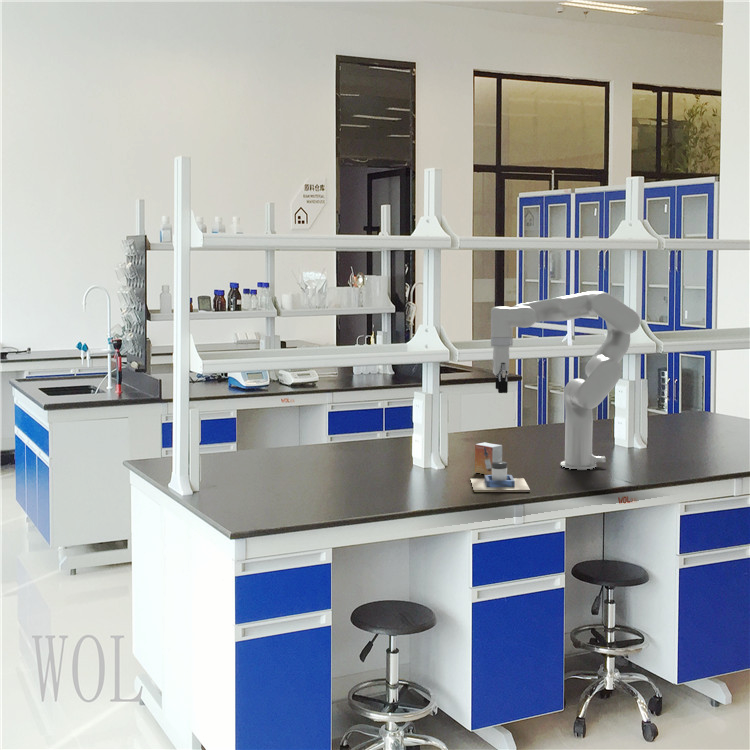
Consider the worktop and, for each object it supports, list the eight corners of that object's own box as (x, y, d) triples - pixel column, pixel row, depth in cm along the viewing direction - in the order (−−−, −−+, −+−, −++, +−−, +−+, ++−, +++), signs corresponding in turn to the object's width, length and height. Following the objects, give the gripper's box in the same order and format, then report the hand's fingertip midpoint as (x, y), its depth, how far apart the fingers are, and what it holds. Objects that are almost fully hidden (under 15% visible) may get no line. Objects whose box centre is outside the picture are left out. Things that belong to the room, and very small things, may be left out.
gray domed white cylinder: (506, 482, 326) (506, 461, 325) (507, 485, 321) (507, 464, 320) (491, 482, 326) (491, 461, 326) (492, 485, 322) (492, 464, 321)
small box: (474, 473, 344) (474, 444, 342) (484, 471, 348) (484, 441, 346) (492, 477, 338) (492, 447, 337) (502, 474, 342) (502, 444, 341)
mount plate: (523, 481, 332) (524, 472, 331) (529, 492, 316) (530, 483, 315) (470, 481, 332) (470, 472, 332) (473, 492, 316) (473, 483, 316)
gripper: (488, 340, 352) (488, 387, 354) (493, 344, 335) (492, 394, 337) (509, 339, 352) (509, 387, 354) (515, 344, 334) (515, 394, 337)
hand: (501, 390), depth 345 cm, fingers open, 9 cm apart
